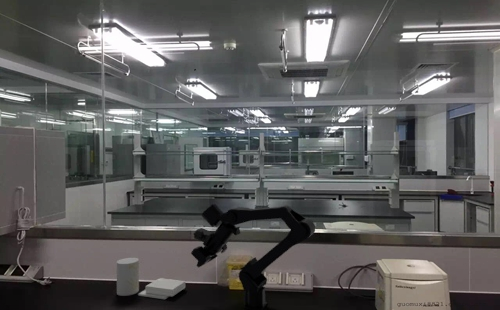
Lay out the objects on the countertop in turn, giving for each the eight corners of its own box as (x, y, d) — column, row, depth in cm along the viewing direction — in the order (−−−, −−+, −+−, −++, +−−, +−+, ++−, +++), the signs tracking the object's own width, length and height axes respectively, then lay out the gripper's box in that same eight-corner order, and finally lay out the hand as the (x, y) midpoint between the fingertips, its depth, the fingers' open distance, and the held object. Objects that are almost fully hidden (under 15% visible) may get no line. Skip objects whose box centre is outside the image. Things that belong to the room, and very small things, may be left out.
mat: (179, 289, 127) (179, 287, 127) (164, 299, 117) (164, 297, 117) (154, 285, 131) (154, 284, 131) (138, 295, 121) (138, 293, 121)
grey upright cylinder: (131, 296, 121) (131, 264, 121) (112, 295, 122) (112, 263, 123) (142, 288, 128) (142, 258, 129) (124, 286, 130) (124, 257, 130)
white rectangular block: (185, 281, 126) (159, 278, 130) (172, 289, 118) (145, 286, 122) (185, 288, 126) (159, 284, 130) (172, 296, 118) (145, 293, 122)
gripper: (217, 217, 128) (195, 245, 131) (193, 225, 110) (169, 258, 113) (237, 236, 125) (214, 264, 128) (216, 247, 107) (190, 280, 110)
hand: (197, 266), depth 120 cm, fingers closed
